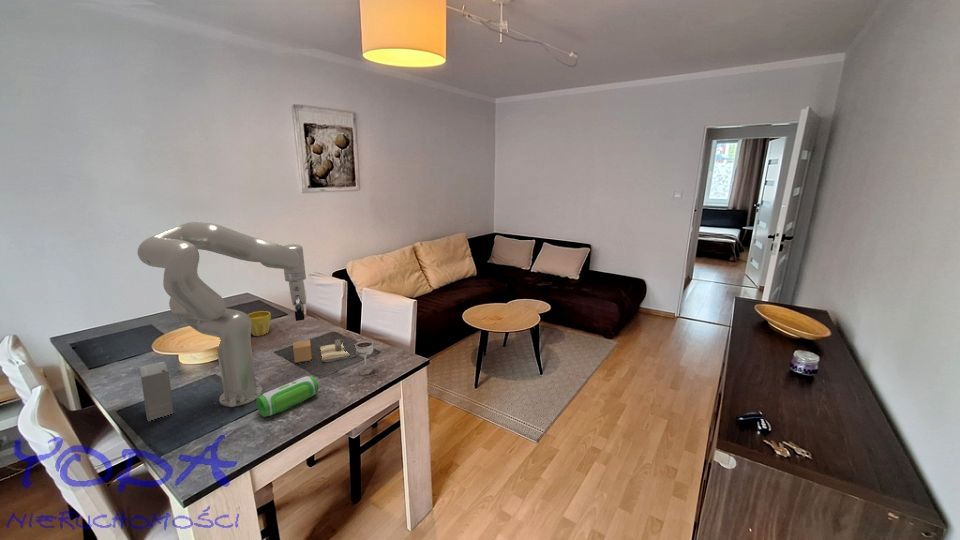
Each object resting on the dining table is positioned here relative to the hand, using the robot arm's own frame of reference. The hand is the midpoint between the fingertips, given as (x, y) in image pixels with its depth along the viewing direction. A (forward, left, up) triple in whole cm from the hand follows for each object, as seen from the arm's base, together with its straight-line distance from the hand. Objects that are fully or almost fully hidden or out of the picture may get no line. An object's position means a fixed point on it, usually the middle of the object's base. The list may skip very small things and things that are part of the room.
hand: (299, 315), depth 152 cm
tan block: (0, 0, -19) cm, 19 cm away
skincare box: (-21, +42, -20) cm, 51 cm away
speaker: (-33, +5, -20) cm, 39 cm away
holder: (0, -14, -19) cm, 24 cm away
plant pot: (+37, +18, -20) cm, 45 cm away
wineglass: (-21, -22, -20) cm, 36 cm away
